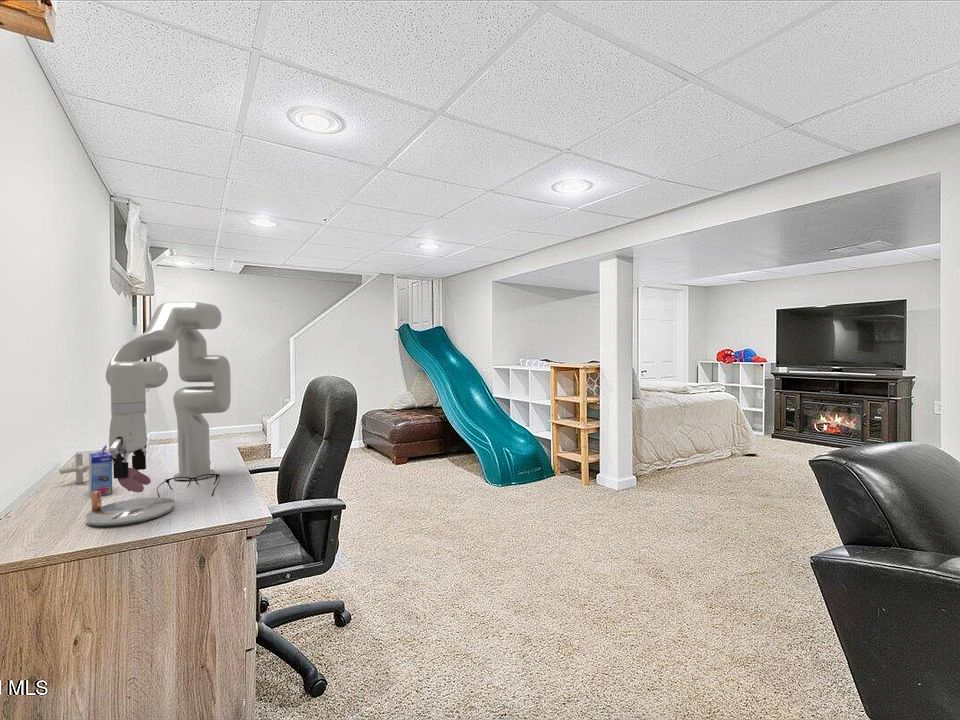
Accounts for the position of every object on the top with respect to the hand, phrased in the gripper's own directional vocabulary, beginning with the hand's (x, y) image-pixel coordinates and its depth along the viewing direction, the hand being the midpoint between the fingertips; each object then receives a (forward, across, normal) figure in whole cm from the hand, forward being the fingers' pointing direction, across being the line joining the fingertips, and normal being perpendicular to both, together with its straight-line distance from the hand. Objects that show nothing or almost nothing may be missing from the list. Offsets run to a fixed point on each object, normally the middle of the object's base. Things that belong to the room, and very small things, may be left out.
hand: (130, 473), depth 130 cm
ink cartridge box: (+11, -27, -21) cm, 36 cm away
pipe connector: (+11, -42, -35) cm, 56 cm away
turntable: (+11, 0, 0) cm, 11 cm away
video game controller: (+5, 0, +1) cm, 5 cm away
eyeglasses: (+12, -20, +7) cm, 24 cm away
